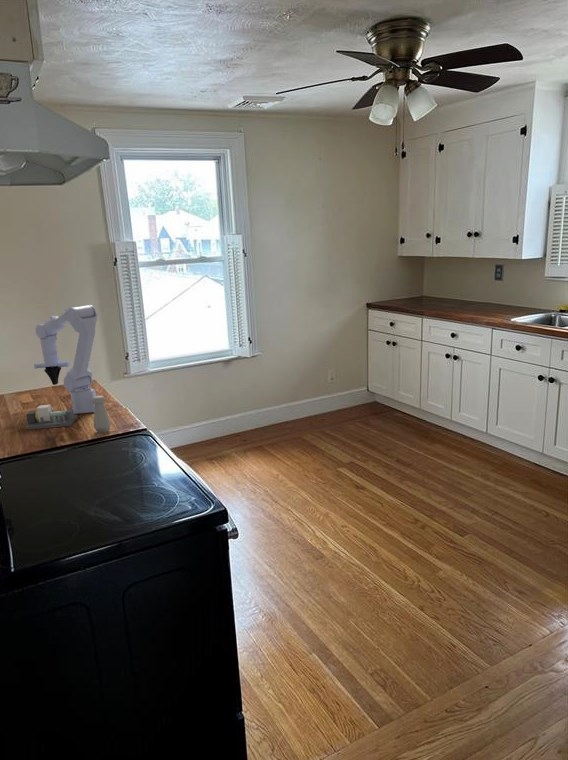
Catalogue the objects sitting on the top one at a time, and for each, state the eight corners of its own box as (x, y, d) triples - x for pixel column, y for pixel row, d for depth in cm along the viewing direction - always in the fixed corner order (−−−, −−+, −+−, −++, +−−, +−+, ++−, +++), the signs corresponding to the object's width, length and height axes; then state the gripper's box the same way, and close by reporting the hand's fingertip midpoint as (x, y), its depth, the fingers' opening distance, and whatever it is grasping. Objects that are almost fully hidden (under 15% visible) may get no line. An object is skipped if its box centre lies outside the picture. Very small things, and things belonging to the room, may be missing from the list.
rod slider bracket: (77, 417, 212) (75, 404, 211) (70, 425, 202) (68, 412, 201) (34, 421, 210) (32, 408, 209) (26, 429, 201) (23, 416, 199)
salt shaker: (106, 434, 190) (100, 398, 187) (91, 434, 191) (85, 398, 188) (114, 428, 195) (109, 394, 192) (100, 428, 197) (94, 394, 193)
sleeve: (52, 417, 208) (50, 404, 207) (50, 420, 204) (47, 407, 203) (42, 418, 207) (39, 405, 206) (39, 422, 204) (36, 408, 202)
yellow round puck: (42, 418, 207) (40, 409, 206) (39, 421, 204) (37, 412, 203) (39, 419, 207) (37, 410, 206) (36, 421, 204) (34, 412, 203)
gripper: (28, 355, 220) (33, 387, 223) (62, 353, 219) (68, 385, 222) (36, 351, 227) (42, 383, 230) (70, 350, 226) (75, 381, 229)
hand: (55, 384), depth 227 cm, fingers closed
